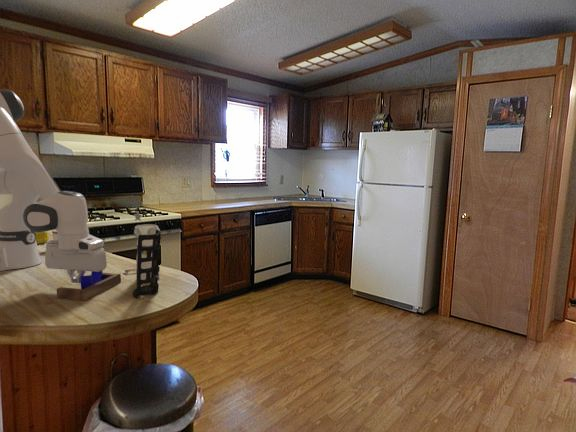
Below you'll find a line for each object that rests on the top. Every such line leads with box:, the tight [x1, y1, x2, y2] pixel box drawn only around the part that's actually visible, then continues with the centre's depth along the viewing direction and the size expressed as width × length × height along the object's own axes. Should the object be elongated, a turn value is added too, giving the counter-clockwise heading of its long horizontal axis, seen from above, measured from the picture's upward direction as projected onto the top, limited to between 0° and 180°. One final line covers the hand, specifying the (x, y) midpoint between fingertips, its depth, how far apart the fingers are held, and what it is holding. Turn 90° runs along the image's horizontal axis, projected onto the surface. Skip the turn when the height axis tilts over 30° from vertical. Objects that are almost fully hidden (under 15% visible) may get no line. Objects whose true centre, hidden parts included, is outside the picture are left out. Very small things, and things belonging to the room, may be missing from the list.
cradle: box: [56, 272, 122, 302], centre depth 125 cm, size 10×18×3 cm, turn 170°
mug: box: [35, 231, 50, 245], centre depth 190 cm, size 13×11×12 cm
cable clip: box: [80, 270, 104, 289], centre depth 126 cm, size 12×4×6 cm, turn 10°
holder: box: [132, 229, 162, 299], centre depth 122 cm, size 11×8×20 cm
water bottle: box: [133, 211, 161, 282], centre depth 135 cm, size 8×9×25 cm
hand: (77, 282), depth 126 cm, fingers closed
